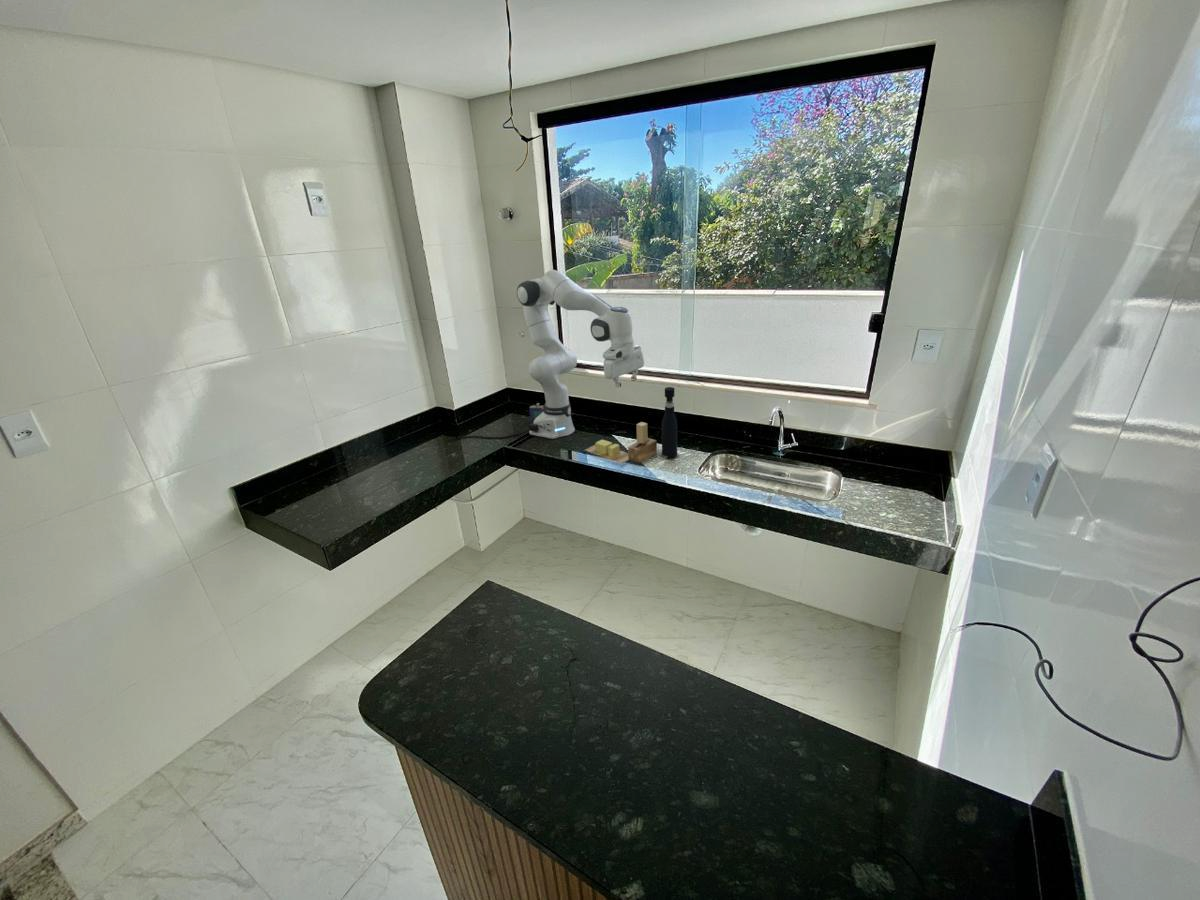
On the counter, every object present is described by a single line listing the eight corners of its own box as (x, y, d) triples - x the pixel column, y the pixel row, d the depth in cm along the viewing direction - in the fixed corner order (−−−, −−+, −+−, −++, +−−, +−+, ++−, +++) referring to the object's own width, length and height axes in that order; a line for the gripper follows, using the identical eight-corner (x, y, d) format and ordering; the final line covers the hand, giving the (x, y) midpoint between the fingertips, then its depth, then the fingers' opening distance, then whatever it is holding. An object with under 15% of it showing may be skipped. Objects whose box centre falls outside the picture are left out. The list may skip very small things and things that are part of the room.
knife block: (628, 461, 204) (627, 446, 201) (645, 451, 212) (645, 437, 209) (639, 465, 201) (639, 450, 197) (656, 455, 208) (656, 440, 205)
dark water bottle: (659, 454, 208) (658, 388, 195) (671, 450, 211) (671, 384, 198) (667, 460, 203) (667, 392, 190) (680, 456, 206) (680, 389, 192)
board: (584, 452, 215) (584, 450, 215) (597, 445, 221) (597, 442, 220) (622, 465, 201) (622, 463, 201) (635, 457, 207) (635, 455, 207)
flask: (549, 421, 251) (546, 401, 246) (548, 423, 248) (546, 403, 243) (531, 422, 251) (528, 402, 247) (530, 424, 249) (527, 404, 244)
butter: (595, 451, 213) (595, 442, 211) (602, 447, 216) (602, 439, 214) (605, 454, 209) (605, 446, 207) (612, 450, 212) (612, 442, 210)
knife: (634, 461, 205) (632, 426, 198) (645, 454, 210) (644, 420, 203) (640, 463, 203) (639, 428, 196) (651, 456, 208) (650, 421, 201)
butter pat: (608, 455, 208) (608, 447, 206) (615, 451, 211) (615, 443, 209) (613, 457, 207) (612, 448, 205) (619, 453, 209) (619, 444, 208)
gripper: (634, 343, 199) (637, 376, 204) (599, 355, 186) (603, 389, 192) (646, 344, 195) (648, 377, 200) (611, 356, 182) (615, 391, 187)
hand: (626, 383), depth 196 cm, fingers open, 8 cm apart
